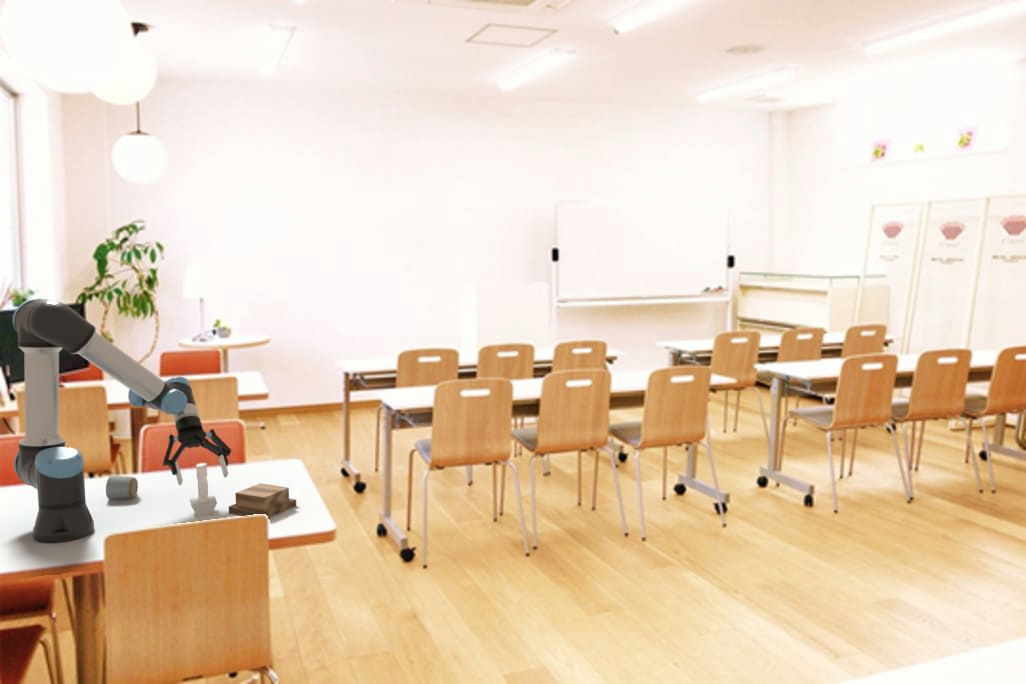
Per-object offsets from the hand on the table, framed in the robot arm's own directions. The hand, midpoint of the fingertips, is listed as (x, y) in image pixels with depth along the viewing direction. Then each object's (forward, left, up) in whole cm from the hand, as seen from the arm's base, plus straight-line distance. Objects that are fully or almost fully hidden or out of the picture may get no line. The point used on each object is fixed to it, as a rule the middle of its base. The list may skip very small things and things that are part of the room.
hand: (203, 479), depth 261 cm
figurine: (-3, -3, -9) cm, 10 cm away
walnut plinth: (+7, -17, -9) cm, 20 cm away
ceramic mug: (-3, +32, -9) cm, 33 cm away
